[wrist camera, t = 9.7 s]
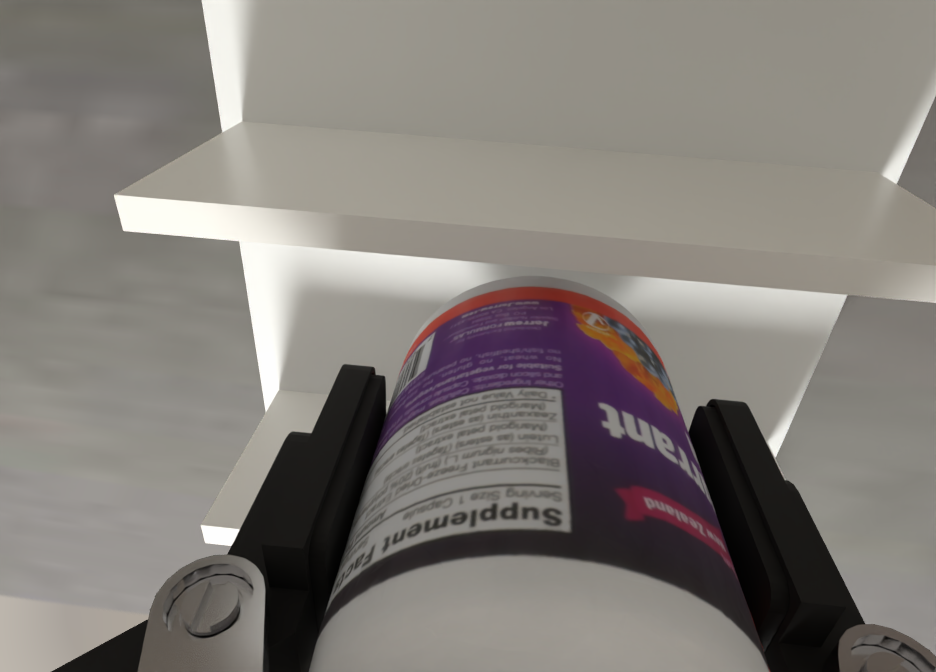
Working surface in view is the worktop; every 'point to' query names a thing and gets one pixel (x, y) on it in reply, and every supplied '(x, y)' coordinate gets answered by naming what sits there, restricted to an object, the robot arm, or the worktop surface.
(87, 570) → the worktop surface
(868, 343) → the worktop surface
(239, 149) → the shelf rack
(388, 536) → the pill bottle
